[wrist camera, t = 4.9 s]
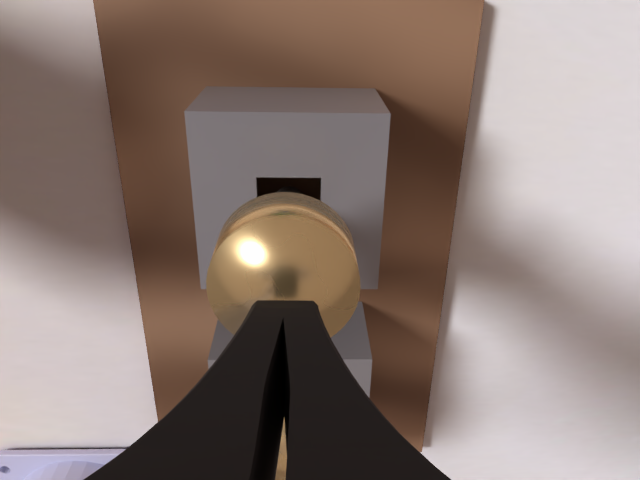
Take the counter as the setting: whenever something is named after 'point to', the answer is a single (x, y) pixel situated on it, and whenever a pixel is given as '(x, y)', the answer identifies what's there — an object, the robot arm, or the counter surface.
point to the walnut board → (304, 72)
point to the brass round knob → (284, 259)
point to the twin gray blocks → (293, 174)
